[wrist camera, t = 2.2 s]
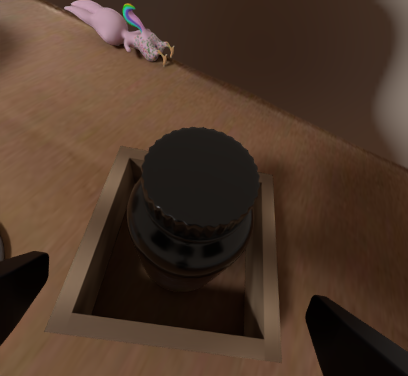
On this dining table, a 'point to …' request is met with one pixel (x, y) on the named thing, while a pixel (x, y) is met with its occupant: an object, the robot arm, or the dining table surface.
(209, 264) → the supplement bottle
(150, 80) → the dining table surface
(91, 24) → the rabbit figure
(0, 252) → the coaster
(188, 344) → the walnut box
